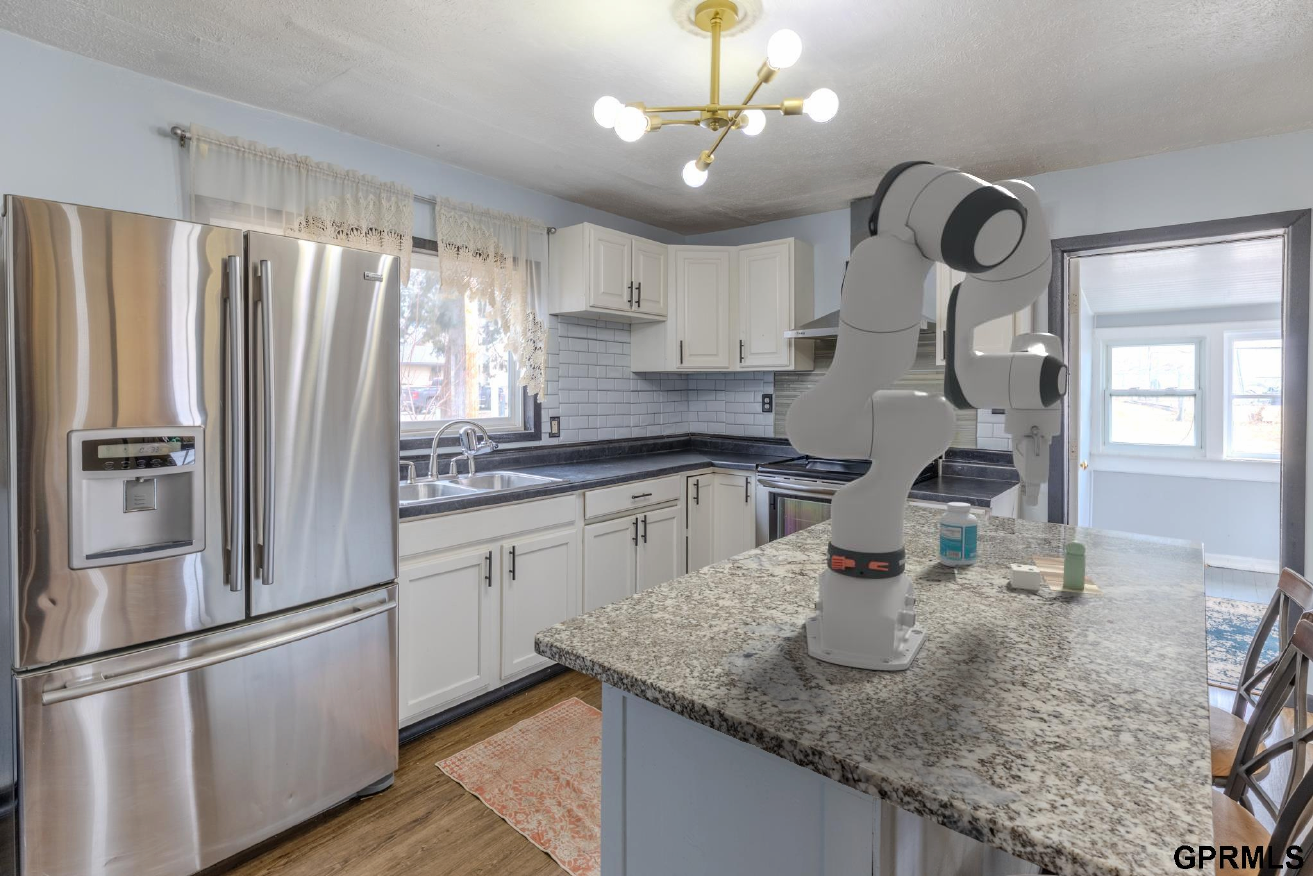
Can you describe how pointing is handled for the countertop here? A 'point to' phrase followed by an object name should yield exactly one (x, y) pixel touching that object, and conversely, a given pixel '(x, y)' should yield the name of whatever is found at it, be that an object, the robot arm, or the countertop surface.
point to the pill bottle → (958, 535)
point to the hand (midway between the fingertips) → (1028, 500)
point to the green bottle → (1074, 566)
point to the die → (1024, 576)
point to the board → (1060, 575)
